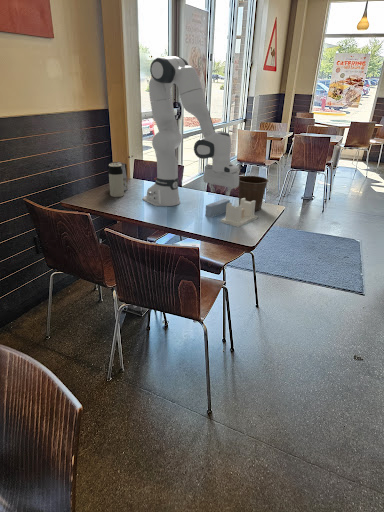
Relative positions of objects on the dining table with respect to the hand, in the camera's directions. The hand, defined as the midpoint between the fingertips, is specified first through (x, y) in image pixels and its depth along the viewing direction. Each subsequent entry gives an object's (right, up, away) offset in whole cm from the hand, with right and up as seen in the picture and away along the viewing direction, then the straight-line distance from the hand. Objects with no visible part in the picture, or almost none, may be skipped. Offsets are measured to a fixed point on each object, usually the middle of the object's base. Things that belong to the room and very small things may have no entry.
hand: (220, 193), depth 177 cm
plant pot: (+17, -5, +15) cm, 23 cm away
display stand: (+10, -14, -3) cm, 17 cm away
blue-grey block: (-1, -9, +5) cm, 11 cm away
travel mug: (-59, +4, +28) cm, 65 cm away
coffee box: (-60, +10, +41) cm, 73 cm away
